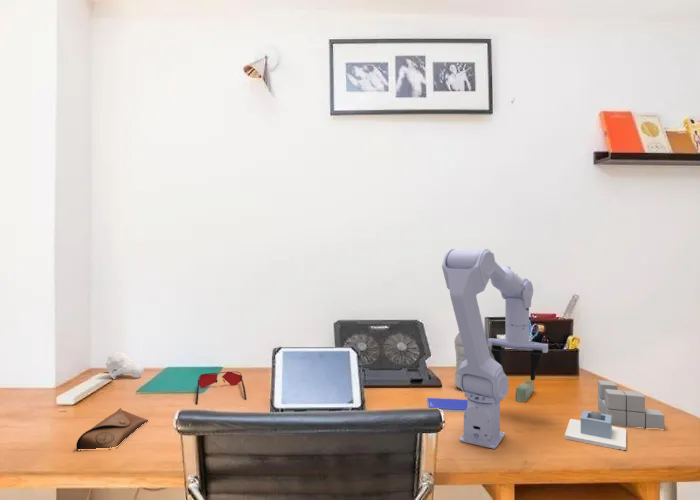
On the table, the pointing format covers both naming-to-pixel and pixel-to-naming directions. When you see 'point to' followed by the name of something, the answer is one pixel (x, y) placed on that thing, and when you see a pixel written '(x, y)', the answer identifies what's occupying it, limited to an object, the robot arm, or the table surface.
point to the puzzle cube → (627, 407)
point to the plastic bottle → (458, 357)
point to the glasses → (212, 378)
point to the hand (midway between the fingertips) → (517, 377)
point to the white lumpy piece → (123, 365)
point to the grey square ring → (596, 425)
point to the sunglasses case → (110, 431)
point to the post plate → (615, 442)
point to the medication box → (524, 390)
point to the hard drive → (448, 404)
